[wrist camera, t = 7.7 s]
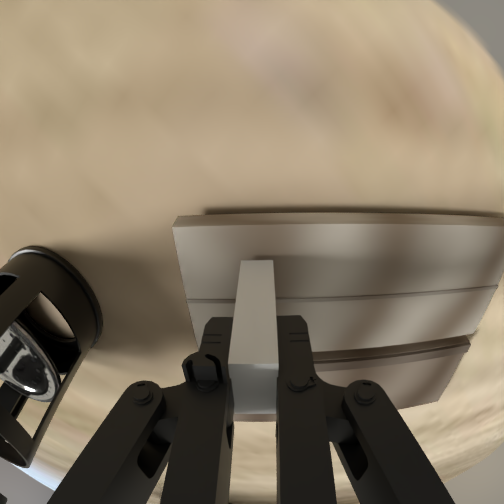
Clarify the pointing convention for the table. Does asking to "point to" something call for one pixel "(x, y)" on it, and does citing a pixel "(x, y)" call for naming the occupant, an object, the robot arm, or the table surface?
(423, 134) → the table surface
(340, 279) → the plank
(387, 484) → the robot arm
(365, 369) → the laid board
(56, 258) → the french press
